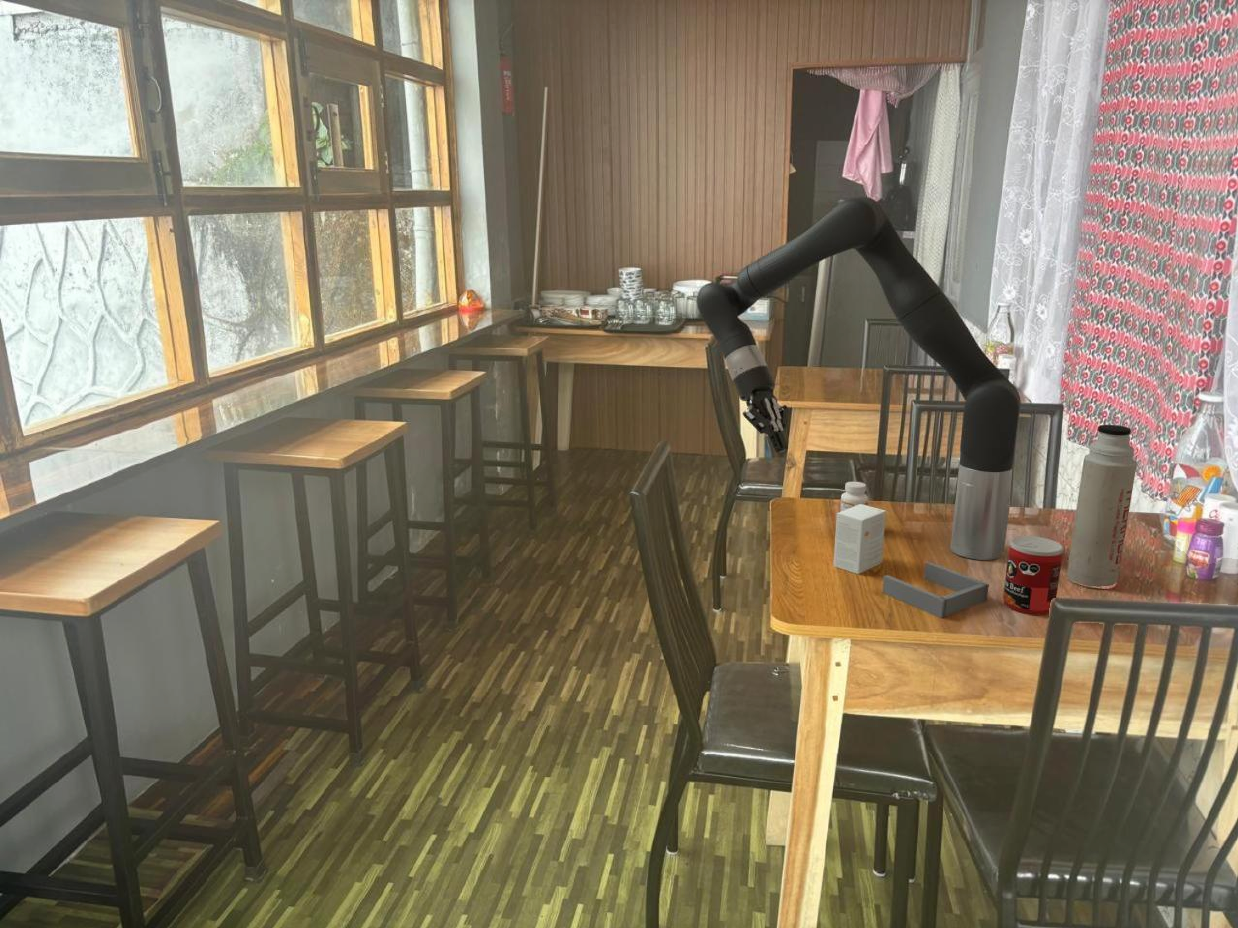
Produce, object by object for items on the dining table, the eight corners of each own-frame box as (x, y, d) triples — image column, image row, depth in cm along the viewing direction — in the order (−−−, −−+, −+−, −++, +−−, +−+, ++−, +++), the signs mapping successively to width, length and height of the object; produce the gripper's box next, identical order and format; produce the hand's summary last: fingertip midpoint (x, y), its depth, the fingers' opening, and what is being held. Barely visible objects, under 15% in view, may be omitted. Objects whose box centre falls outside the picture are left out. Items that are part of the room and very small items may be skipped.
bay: (927, 577, 161) (929, 561, 160) (986, 600, 151) (988, 584, 151) (882, 592, 155) (883, 576, 154) (941, 617, 145) (942, 600, 144)
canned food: (993, 597, 153) (1001, 536, 150) (1038, 595, 154) (1047, 534, 151) (1016, 616, 146) (1025, 553, 143) (1064, 614, 146) (1073, 551, 143)
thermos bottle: (1126, 584, 158) (1152, 429, 150) (1097, 593, 154) (1122, 434, 147) (1085, 568, 165) (1108, 419, 157) (1056, 576, 161) (1078, 424, 154)
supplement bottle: (863, 525, 188) (867, 480, 185) (867, 534, 182) (871, 488, 180) (837, 524, 188) (840, 479, 185) (840, 533, 183) (844, 487, 180)
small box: (856, 555, 171) (860, 503, 168) (882, 563, 167) (887, 510, 164) (832, 566, 166) (835, 512, 163) (858, 575, 162) (862, 519, 159)
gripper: (743, 363, 174) (778, 445, 170) (782, 364, 183) (815, 441, 179) (716, 382, 179) (748, 461, 175) (755, 381, 188) (786, 456, 184)
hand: (782, 451), depth 177 cm, fingers closed
